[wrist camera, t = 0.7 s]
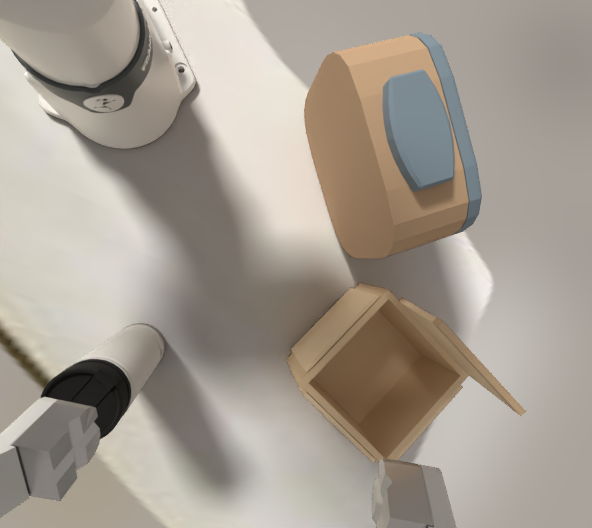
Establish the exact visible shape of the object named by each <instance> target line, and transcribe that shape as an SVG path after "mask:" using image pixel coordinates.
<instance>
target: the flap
mask: <svg viewBox="0 0 592 528" xmlns="http://www.w3.org/2000/svg"><path fill="white" fill-rule="evenodd" d="M399 302H400V303H401V304H402V305H403V306H404V308H405V309H406V310H407V311H408V312H409V313H410V314H411V315H412V316H413V317H414V318H415V319H416V320H417V322H418V323H419V324H420V325H421V326H422V327H423V328H424V329H425V330H426V331H427V332H428V333H429V334H430V336H431V337H432V338H433V339H434V340H435V341H436V342H437V343H438V344H439V345H440V346H441V347H442V348H443V349H444V351H445V352H446V353H447V354H448V355H449V356H450V357H451V358H452V359H453V360H454V361H455V362H456V363H457V365H458V366H459V367H460V368H461V369H462V370H463V371H464V372H465V373H467V374H468V375H469V376H471V377H472V378H473V379H474V380H476V381H477V382H478V383H480V384H481V385H482V386H483V387H485V388H486V389H487V390H488V391H490V392H491V393H492V394H494V395H495V396H496V397H497V398H499V399H500V400H501V401H503V402H504V403H505V404H506V405H508V406H509V407H510V408H511V409H512V410H514V411H515V412H516V413H517V414H519V415H520V416H521V415H522V414H524V413H525V412H526V411H525V410H524V409H523V408H522V407H521V405H520V404H519V403H518V402H517V401H516V400H515V399H514V398H513V397H512V396H511V395H510V393H509V392H508V391H507V390H506V389H505V388H504V387H503V386H502V385H501V384H500V383H499V381H497V379H496V378H495V377H494V376H493V375H492V374H491V373H490V372H489V371H488V369H487V368H486V367H485V366H484V365H483V364H482V363H481V362H480V361H479V360H478V359H477V357H476V356H475V355H474V354H473V353H472V352H471V351H470V350H469V349H468V348H467V347H466V345H465V344H464V343H463V342H462V341H461V340H460V339H459V338H458V337H457V336H456V335H455V333H454V332H453V331H452V330H451V329H450V328H449V327H448V326H447V325H446V324H445V323H444V321H442V320H441V319H439V318H436V317H435V316H433V315H431V314H430V313H428V312H426V311H424V310H423V309H421V308H419V307H418V306H416V305H414V304H412V303H411V302H409V301H407V300H406V299H404V298H401V299H400V300H399Z"/></svg>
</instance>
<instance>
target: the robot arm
mask: <svg viewBox="0 0 592 528" xmlns="http://www.w3.org/2000/svg"><path fill="white" fill-rule="evenodd" d="M0 40H1V41H3V42H4V43H5V44H6V45H7V46H8V47H10V49H11V50H12V52H13V53H14V55H15V57H16V58H17V59H18V61H19V62H20V63H21V65H22V66H23V67H24V69H25V70H26V71H27V72H26V73H25V77H26V79H27V81H28V82H29V83H30V84H31V85H32V86H33V88H34V89H35V90H36V91H37V93H38V102H39V105H40V106H41V108H42V109H43V110H44V111H45V112H47V113H48V114H50V115H52V116H55V117H57V118H60V119H63V120H66V121H67V122H69V123H70V124H71V125H73V126H74V127H75V128H76V129H77V130H78V131H79V132H81V133H82V134H83V135H84V136H86V137H87V138H89V139H91V140H92V141H94V142H96V143H99V144H101V145H104V146H108V147H112V148H121V149H128V148H136V147H140V146H143V145H146V144H149V143H151V142H153V141H154V140H156V139H157V138H159V137H160V136H161V135H163V134H164V133H165V132H166V131H167V129H168V128H169V127H170V126H171V124H172V123H173V121H174V119H175V117H176V114H177V112H178V109H179V106H180V104H181V102H182V100H183V99H184V98H185V97H186V96H187V95H188V94H189V93H190V92H191V91H192V90H193V88H194V87H195V84H196V80H195V77H194V75H193V72H192V70H191V68H190V66H189V64H188V62H187V60H186V57H185V55H184V53H183V51H182V49H181V47H180V45H179V43H178V41H177V38H176V36H175V34H174V32H173V30H172V28H171V26H170V24H169V22H168V19H167V17H166V15H165V13H164V11H163V9H162V7H161V5H160V2H159V0H0ZM180 69H183V70H185V71H184V73H179V70H180ZM97 417H98V415H97V410H96V408H95V407H92V406H87V405H82V404H77V403H73V402H68V401H63V400H58V399H53V398H48V397H43V398H40V399H38V400H37V401H36V402H34V403H33V404H32V405H31V406H30V407H29V408H28V409H27V410H26V411H25V412H24V413H23V414H21V415H20V417H18V418H17V419H16V420H15V421H14V422H13V423H12V424H11V425H10V426H9V427H7V428H6V429H5V430H4V431H3V432H2V433H1V434H0V518H1V517H2V516H3V515H5V514H7V513H8V512H10V511H11V510H12V509H14V508H15V507H17V506H18V505H20V504H21V503H23V502H24V501H26V500H27V499H28V498H29V496H33V497H39V498H45V499H51V500H57V501H61V499H62V498H63V497H64V495H65V494H66V493H67V491H68V490H69V488H70V487H71V486H72V484H73V483H74V482H75V480H76V479H77V470H78V469H79V468H81V467H83V466H84V465H86V464H88V463H89V461H90V460H91V458H92V457H93V456H94V454H95V452H96V450H97V447H98V445H99V441H100V428H99V427H98V426H97V425H96V424H95V422H94V421H95V420H96V418H97ZM378 472H379V477H378V478H376V479H375V482H374V487H373V494H372V519H373V520H374V522H375V523H376V525H377V526H376V528H456V525H455V521H454V517H453V514H452V510H451V506H450V503H449V499H448V495H447V491H446V487H445V484H444V480H443V476H442V472H441V471H440V469H439V468H435V467H429V466H423V465H418V464H414V463H408V462H402V461H396V460H390V459H384V458H382V459H381V460H380V463H379V467H378Z"/></svg>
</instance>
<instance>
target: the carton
mask: <svg viewBox="0 0 592 528" xmlns="http://www.w3.org/2000/svg"><path fill="white" fill-rule="evenodd" d="M291 350H292V353H291V354H290V355H289V356H288V357H287V358H286V361H287V363H288V365H289V367H290V368H291V370H290V371H291V372H292V374H293V376H294V378H295V380H296V382H297V384H298V386H299V388H300V390H301V392H302V394H303V396H304V397H305V398H306V399H307V400H308V401H309V402H311V403H312V404H313V405H314V406H315V407H316V408H317V409H318V410H319V411H320V412H321V413H322V414H323V415H324V416H325V417H326V418H327V419H328V420H329V421H330V422H331V423H332V424H333V425H334V426H335V427H336V428H337V429H338V430H339V431H340V432H341V433H343V434H344V435H345V436H346V437H347V438H348V439H349V440H350V441H351V442H352V443H353V444H354V445H355V446H356V447H357V448H358V449H359V450H360V451H361V452H362V453H363V454H364V455H365V456H366V457H367V458H368V459H369V460H370V461H371V462H372V463H374V462H375V461H376V459H377V460H378V461H379V462H380V460H381V459H382V458H384V459H390V460H394V459H395V460H396V461H398V459H399V458H400V457H401V456H402V455H403V454H404V453H405V452H406V450H407V449H408V448H409V447H410V446H411V445H412V444H413V443H414V441H415V440H416V439H417V438H418V437H419V436H420V435H421V434H422V432H423V431H424V430H425V429H426V428H427V427H428V426H429V425H430V424H431V422H432V421H433V420H434V419H435V418H436V417H437V416H438V415H439V413H440V412H441V411H442V410H443V409H444V408H445V407H446V406H447V404H448V403H449V402H450V401H451V400H452V399H453V398H454V397H455V395H456V394H457V393H458V392H459V391H460V390H461V389H462V388H463V387H462V386H461V384H462V382H463V381H464V380H465V379H466V378H467V377H468V376H469V375H468V374H467V373H465V372H464V371H463V370H462V369H461V368H460V367H459V366H458V365H457V363H456V362H455V361H454V360H453V359H452V358H451V357H450V356H449V355H448V354H447V353H446V352H445V351H444V349H443V348H442V347H441V346H440V345H439V344H438V343H437V342H436V341H435V340H434V339H433V338H432V337H431V336H430V334H429V333H428V332H427V331H426V330H425V329H424V328H423V327H422V326H421V325H420V324H419V323H418V322H417V320H416V319H415V318H414V317H413V316H412V315H411V314H410V313H409V312H408V311H407V310H406V309H405V308H404V306H403V305H402V304H401V303H400V302H399V300H398V299H397V297H396V296H395V295H394V294H393V293H392V292H391V291H390V290H389V289H385V288H381V287H376V286H371V285H367V284H362V283H359V284H358V285H357V286H356V287H355V288H354V289H353V288H350V289H349V290H348V291H347V292H346V293H345V294H344V295H343V296H342V297H341V298H340V299H339V300H338V301H337V302H336V303H335V304H334V305H333V306H332V307H331V308H330V309H329V310H328V311H327V312H326V313H325V314H324V315H323V316H322V318H321V319H320V320H319V321H318V322H317V323H316V324H315V325H314V326H313V327H312V328H311V329H310V330H309V331H308V332H307V333H306V334H305V335H304V336H303V337H302V338H301V339H300V340H299V341H298V342H297V343H296V344H295V345H294V346H293V347H292V348H291Z"/></svg>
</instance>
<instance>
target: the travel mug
mask: <svg viewBox="0 0 592 528" xmlns="http://www.w3.org/2000/svg"><path fill="white" fill-rule="evenodd" d="M164 351H165V342H164V339H163V336H162V335H161V333H160V332H159V331H158V330H157V329H156V328H154V327H153V326H150V325H148V324H133V325H130V326H128V327H126V328H125V329H123V330H122V331H120V332H119V333H117V334H116V335H114V336H113V337H111V338H110V339H108V340H107V341H106V342H104V343H103V344H101V345H100V346H98V347H97V348H95V349H94V350H92V351H91V352H90V353H88V354H87V355H85V356H84V357H82V358H81V359H79V360H78V361H76V362H75V363H73V364H72V365H71V366H69V367H68V368H67V369H66V370H65V371H63V372H62V373H60V374H59V375H57V376H56V377H54V378H53V379H52V380H51V381H50V382H49V383H48V384H47V386H46V387H45V388H44V390H43V392H42V395H41V398H43V397H48V398H53V399H58V400H63V401H68V402H73V403H77V404H82V405H87V406H92V407H95V408H96V410H97V415H98V417H97V418H96V420H95V421H94V422H95V424H96V425H97V426H98V427H99V428H100V439H101V438H103V437H105V436H106V435H108V434H109V433H110V432H111V431H112V430H113V429H114V427H115V426H116V425H117V423H118V422H119V420H120V419H121V417H122V416H123V415H124V414H125V412H126V411H127V410H128V408H129V407H130V405H131V404H132V402H133V401H134V399H135V398H136V396H137V395H138V393H139V392H140V390H141V389H142V387H143V386H144V384H145V383H146V381H147V380H148V378H149V377H150V375H151V374H152V372H153V371H154V369H155V368H156V366H157V365H158V363H159V362H160V360H161V359H162V357H163V355H164Z"/></svg>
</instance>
